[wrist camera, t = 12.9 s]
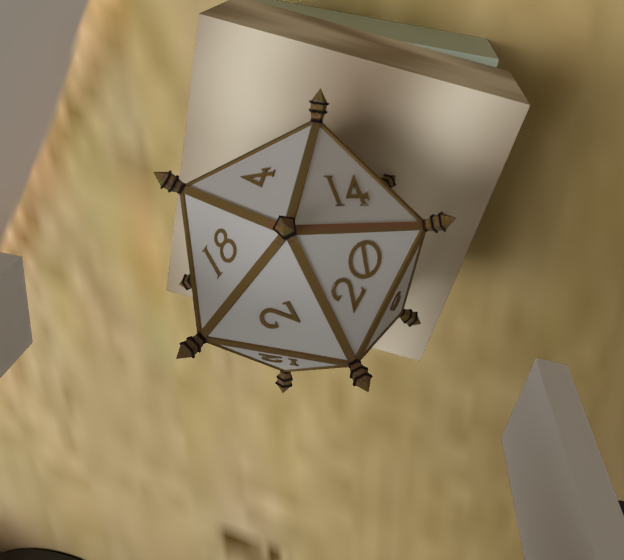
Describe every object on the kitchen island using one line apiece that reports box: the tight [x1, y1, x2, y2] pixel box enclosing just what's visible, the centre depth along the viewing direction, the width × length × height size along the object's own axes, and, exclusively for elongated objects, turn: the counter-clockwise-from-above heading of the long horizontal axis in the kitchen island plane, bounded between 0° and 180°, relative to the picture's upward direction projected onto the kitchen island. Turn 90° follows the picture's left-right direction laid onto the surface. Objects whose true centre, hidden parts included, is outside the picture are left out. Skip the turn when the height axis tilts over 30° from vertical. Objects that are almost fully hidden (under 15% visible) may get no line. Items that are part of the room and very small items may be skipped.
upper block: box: [167, 0, 530, 361], centre depth 24 cm, size 11×11×5 cm
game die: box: [154, 88, 456, 393], centre depth 19 cm, size 9×8×10 cm
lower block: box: [253, 0, 499, 67], centre depth 28 cm, size 11×11×5 cm
